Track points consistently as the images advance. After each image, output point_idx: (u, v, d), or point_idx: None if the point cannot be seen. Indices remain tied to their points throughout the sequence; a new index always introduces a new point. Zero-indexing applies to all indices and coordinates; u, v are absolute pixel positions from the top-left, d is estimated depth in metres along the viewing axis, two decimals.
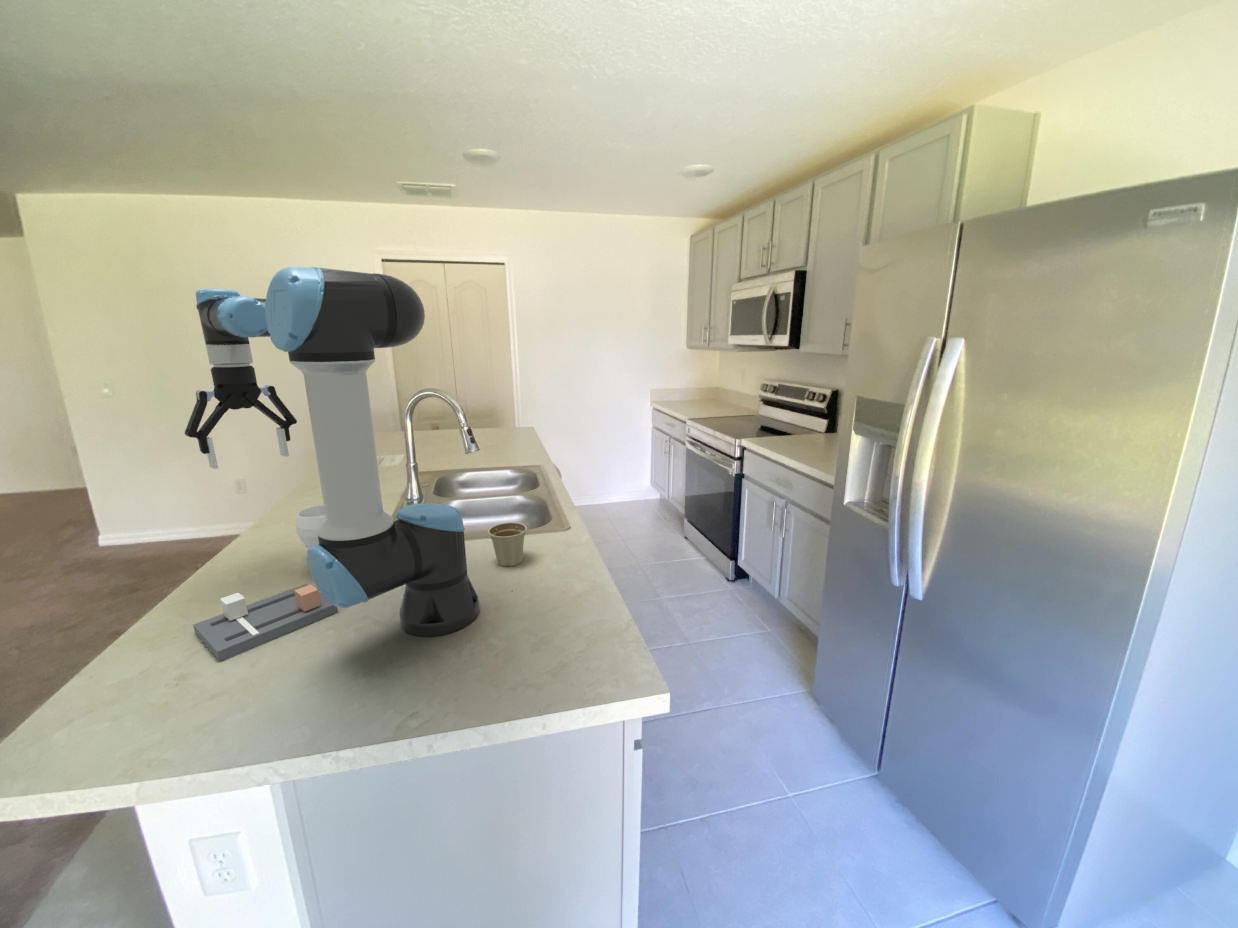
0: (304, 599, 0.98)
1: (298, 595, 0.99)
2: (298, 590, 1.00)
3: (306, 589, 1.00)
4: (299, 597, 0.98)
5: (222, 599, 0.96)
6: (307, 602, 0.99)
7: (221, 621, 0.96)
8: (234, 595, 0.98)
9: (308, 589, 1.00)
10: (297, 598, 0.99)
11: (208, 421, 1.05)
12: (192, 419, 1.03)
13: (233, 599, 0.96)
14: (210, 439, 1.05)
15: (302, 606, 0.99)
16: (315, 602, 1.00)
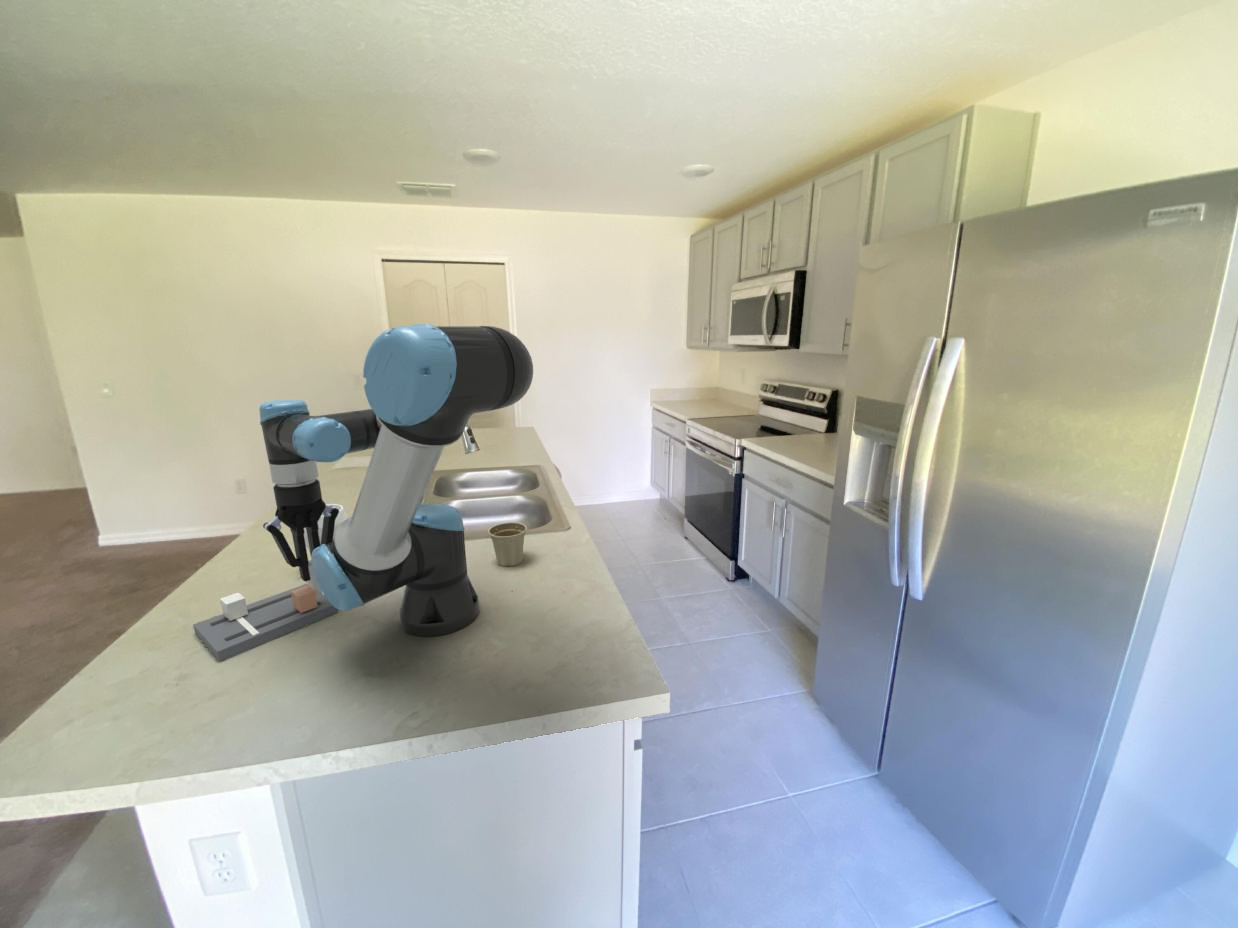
0: (301, 601, 0.98)
1: (295, 596, 0.98)
2: (295, 591, 0.99)
3: (303, 590, 1.00)
4: (296, 598, 0.98)
5: (222, 599, 0.96)
6: (303, 603, 0.98)
7: (221, 621, 0.96)
8: (234, 595, 0.98)
9: (305, 590, 1.00)
10: (294, 599, 0.99)
11: (297, 549, 0.97)
12: (283, 552, 0.95)
13: (233, 599, 0.96)
14: (312, 566, 0.99)
15: (299, 607, 0.98)
16: (312, 603, 0.99)
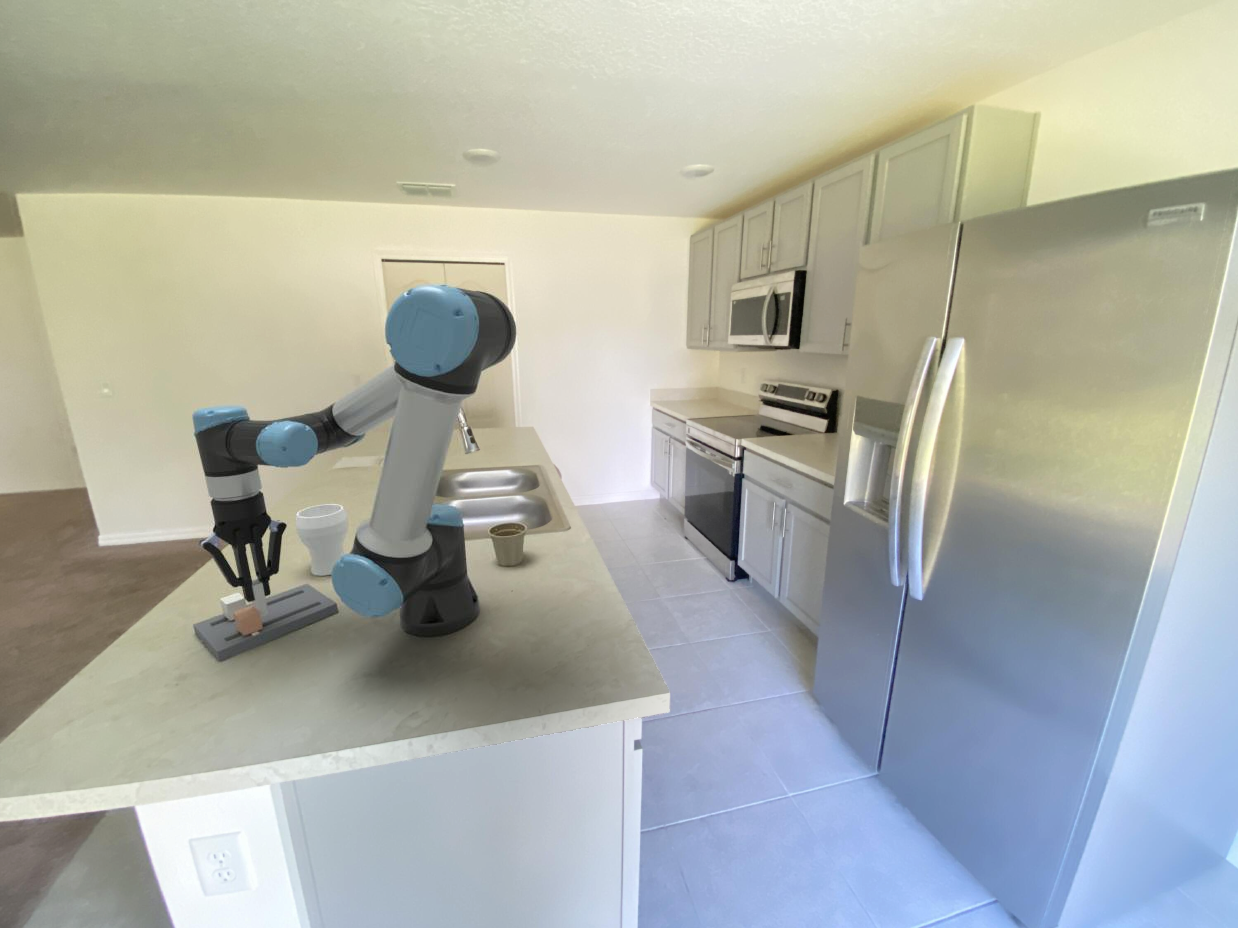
0: (243, 623, 0.90)
1: (237, 618, 0.91)
2: (237, 612, 0.92)
3: (246, 611, 0.92)
4: (238, 620, 0.91)
5: (222, 599, 0.96)
6: (246, 626, 0.91)
7: (221, 621, 0.96)
8: (234, 595, 0.98)
9: (248, 611, 0.92)
10: (236, 621, 0.92)
11: (239, 567, 0.90)
12: (222, 571, 0.88)
13: (233, 599, 0.96)
14: (256, 585, 0.91)
15: (241, 630, 0.91)
16: (256, 625, 0.92)
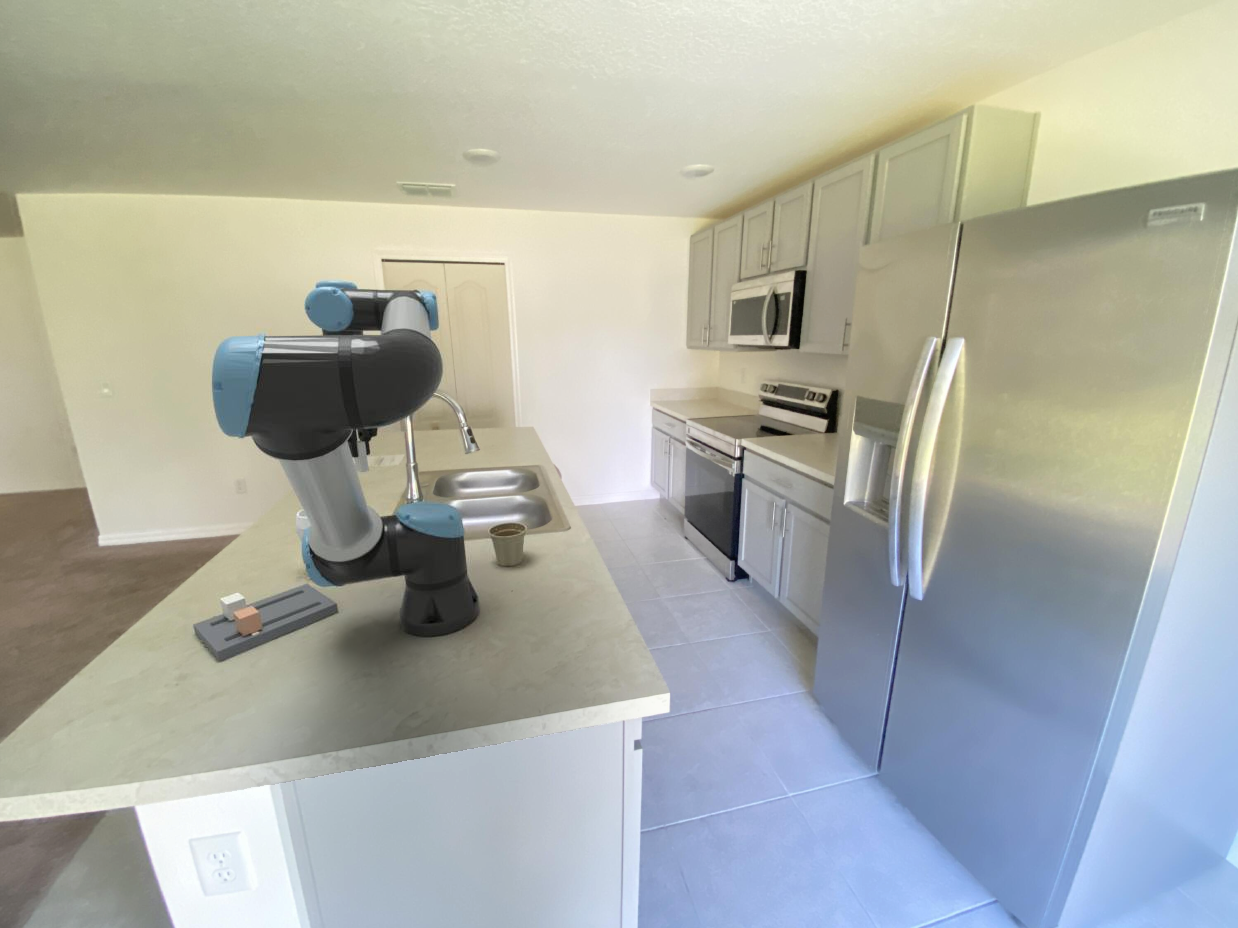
0: (243, 623, 0.90)
1: (236, 618, 0.91)
2: (237, 612, 0.92)
3: (246, 611, 0.92)
4: (238, 620, 0.91)
5: (222, 599, 0.96)
6: (246, 626, 0.91)
7: (221, 621, 0.96)
8: (234, 595, 0.98)
9: (248, 611, 0.92)
10: (236, 621, 0.92)
11: None
12: None
13: (233, 599, 0.96)
14: (360, 443, 1.07)
15: (241, 630, 0.91)
16: (256, 625, 0.92)
